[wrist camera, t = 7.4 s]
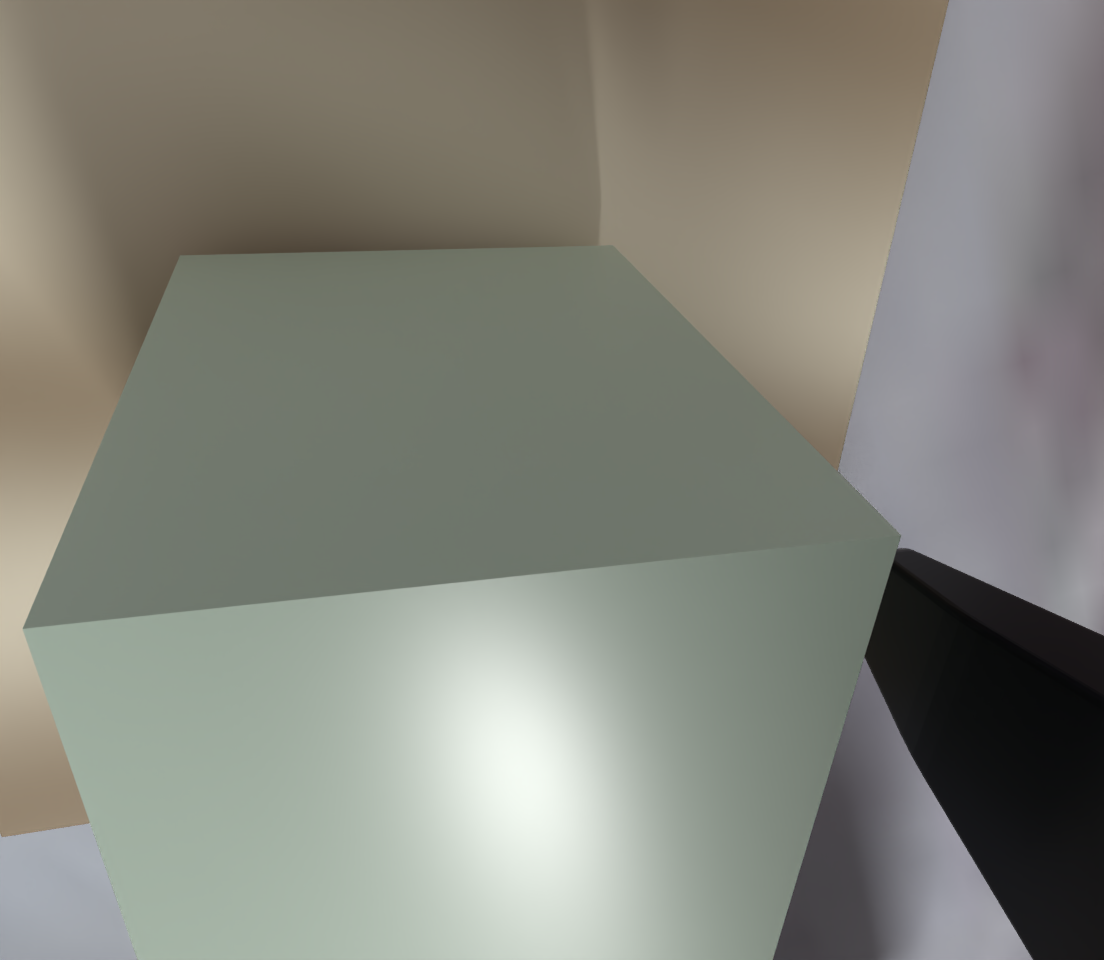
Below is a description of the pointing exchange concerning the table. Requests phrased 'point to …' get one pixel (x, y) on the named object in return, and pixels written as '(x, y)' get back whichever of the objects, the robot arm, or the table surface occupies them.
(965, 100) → the table surface
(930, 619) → the robot arm
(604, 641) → the mint green box
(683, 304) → the post board
